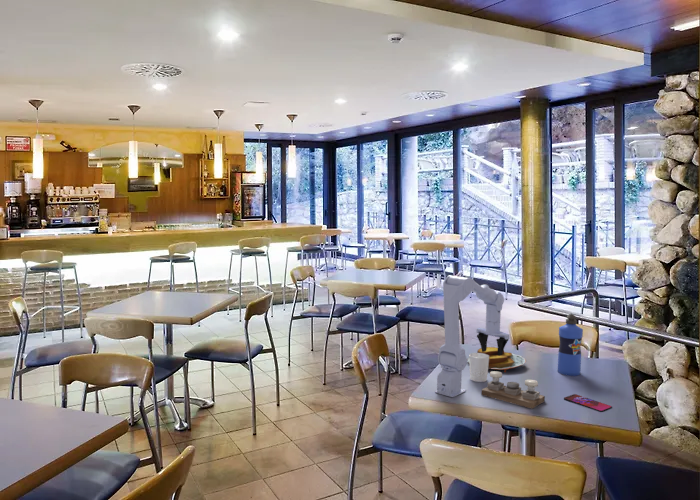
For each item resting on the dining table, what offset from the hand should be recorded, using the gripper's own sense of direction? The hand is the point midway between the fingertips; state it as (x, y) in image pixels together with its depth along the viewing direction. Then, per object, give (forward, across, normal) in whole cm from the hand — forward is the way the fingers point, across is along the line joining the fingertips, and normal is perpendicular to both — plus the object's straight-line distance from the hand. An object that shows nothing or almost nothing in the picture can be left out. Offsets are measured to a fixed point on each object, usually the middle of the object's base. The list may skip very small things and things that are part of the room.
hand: (491, 353), depth 229 cm
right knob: (+5, -26, +14) cm, 30 cm away
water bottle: (+10, -18, -30) cm, 37 cm away
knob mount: (+10, -19, +15) cm, 26 cm away
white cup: (+10, +2, +7) cm, 12 cm away
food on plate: (+10, +9, -17) cm, 22 cm away
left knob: (+5, -12, +16) cm, 20 cm away
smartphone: (+11, -40, -1) cm, 41 cm away
